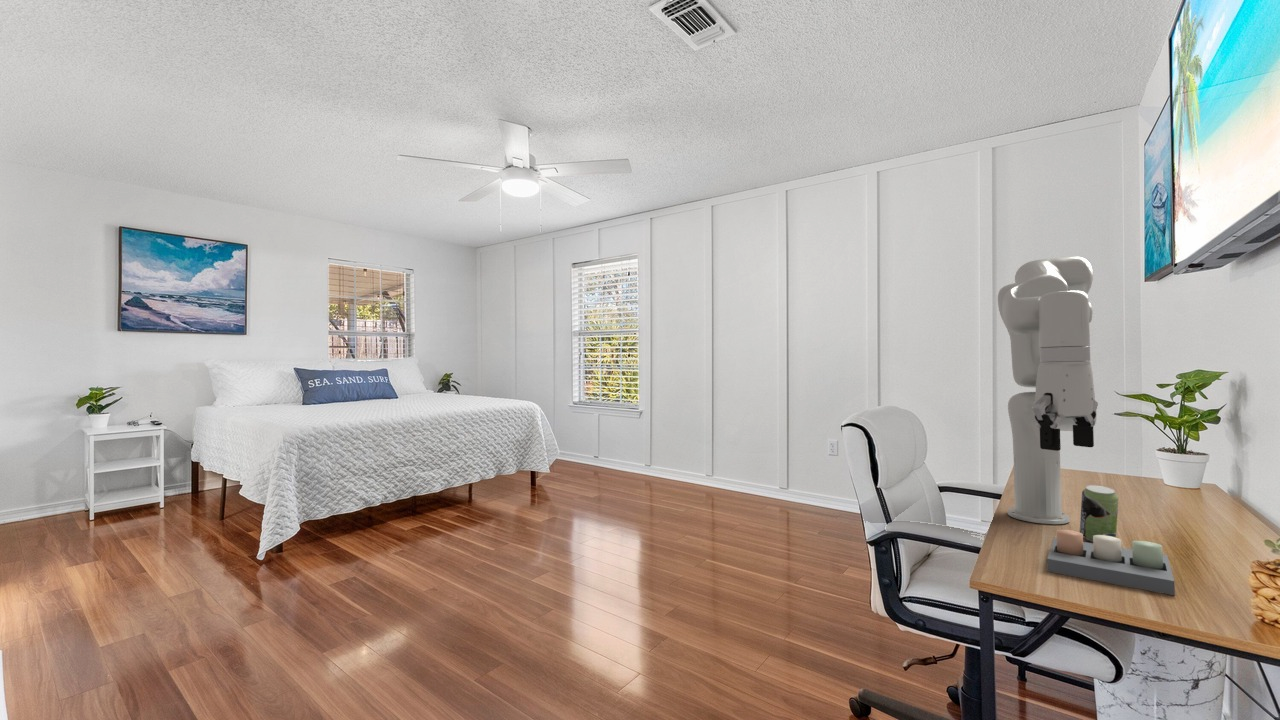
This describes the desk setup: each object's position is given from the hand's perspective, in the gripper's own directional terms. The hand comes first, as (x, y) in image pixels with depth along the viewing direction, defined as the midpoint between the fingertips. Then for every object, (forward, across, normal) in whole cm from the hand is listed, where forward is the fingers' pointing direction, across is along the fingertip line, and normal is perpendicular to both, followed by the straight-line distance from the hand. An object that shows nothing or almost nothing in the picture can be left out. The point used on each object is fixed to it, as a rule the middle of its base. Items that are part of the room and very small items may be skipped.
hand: (1067, 448), depth 102 cm
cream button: (+21, -7, +2) cm, 22 cm away
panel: (+23, -7, +2) cm, 24 cm away
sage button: (+21, -9, +7) cm, 24 cm away
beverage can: (+23, -24, -8) cm, 34 cm away
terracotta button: (+21, -4, -2) cm, 21 cm away
